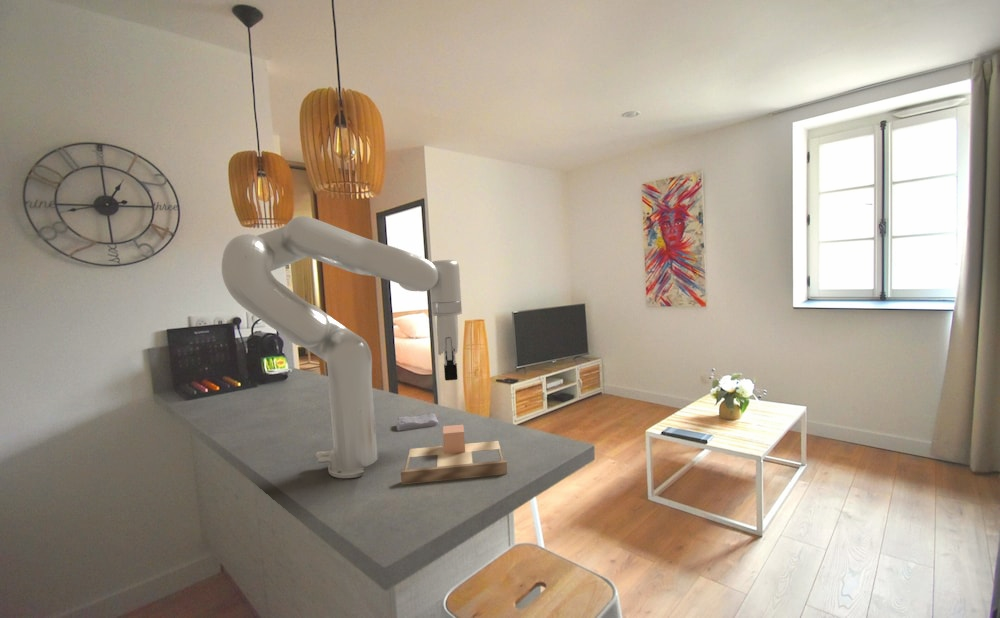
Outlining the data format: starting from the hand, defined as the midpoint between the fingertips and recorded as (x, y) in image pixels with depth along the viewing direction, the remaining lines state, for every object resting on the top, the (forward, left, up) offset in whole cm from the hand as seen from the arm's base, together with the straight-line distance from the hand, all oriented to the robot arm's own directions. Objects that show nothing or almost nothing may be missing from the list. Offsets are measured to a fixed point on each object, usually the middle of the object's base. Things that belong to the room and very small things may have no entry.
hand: (451, 379), depth 112 cm
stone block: (-11, +14, -18) cm, 25 cm away
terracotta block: (0, -8, -16) cm, 17 cm away
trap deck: (0, -14, -17) cm, 22 cm away
